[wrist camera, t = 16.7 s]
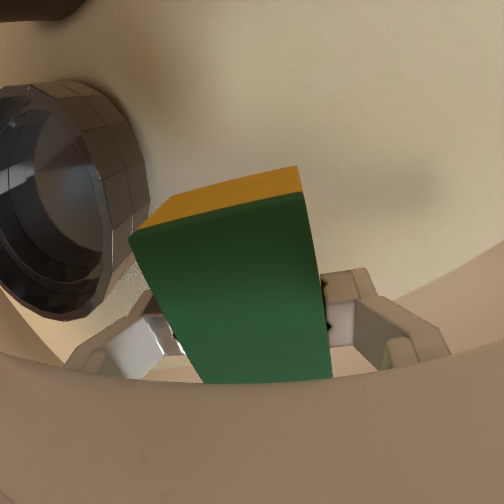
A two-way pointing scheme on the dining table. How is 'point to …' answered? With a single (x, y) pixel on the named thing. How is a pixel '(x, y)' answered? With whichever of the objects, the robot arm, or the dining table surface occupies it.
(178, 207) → the sponge
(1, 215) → the bowl
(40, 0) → the coffee cup
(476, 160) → the dining table surface
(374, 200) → the dining table surface
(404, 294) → the dining table surface
